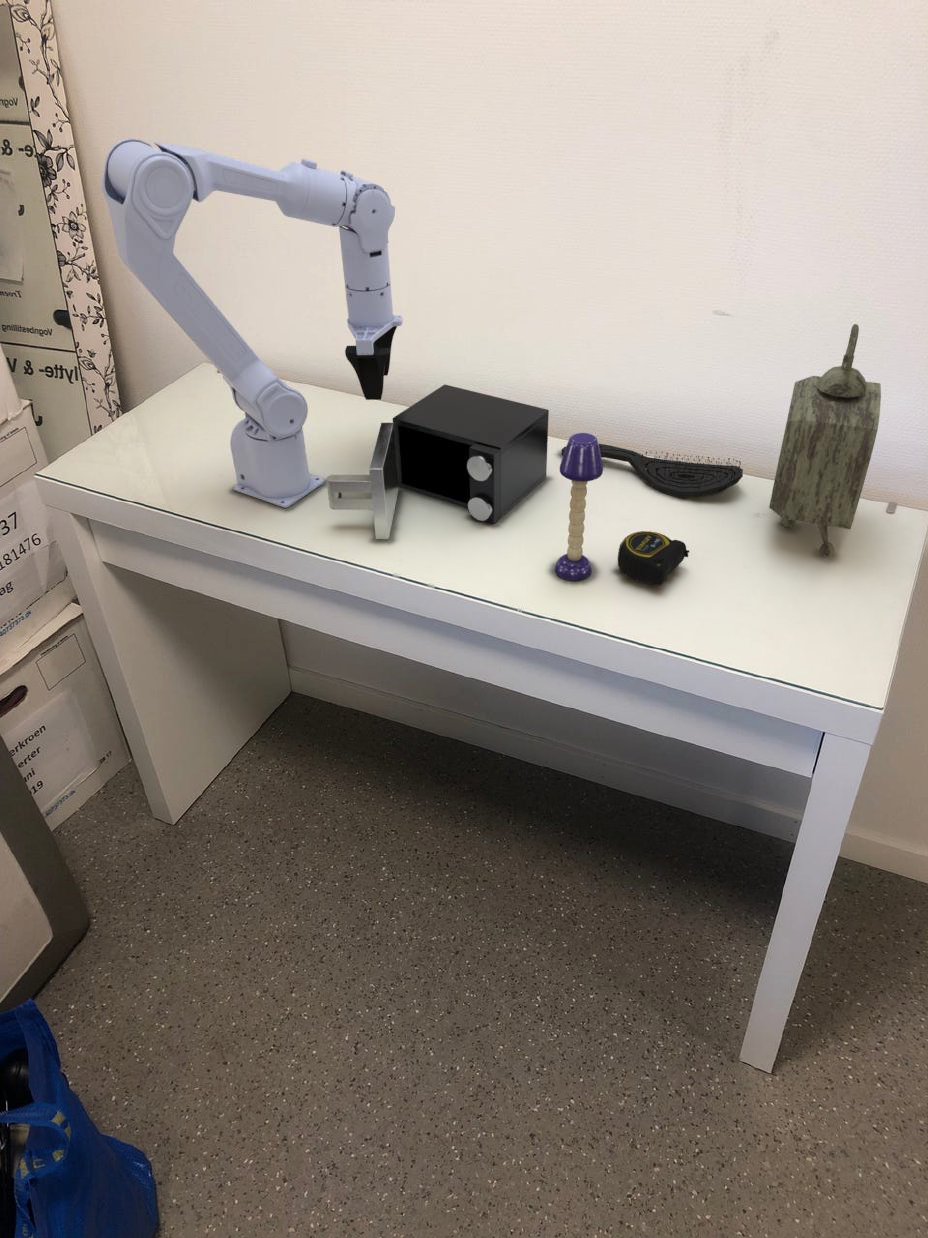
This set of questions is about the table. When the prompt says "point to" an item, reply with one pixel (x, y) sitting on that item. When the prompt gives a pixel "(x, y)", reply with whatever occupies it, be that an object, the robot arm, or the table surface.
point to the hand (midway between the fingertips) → (377, 386)
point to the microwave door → (371, 485)
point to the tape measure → (650, 556)
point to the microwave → (472, 450)
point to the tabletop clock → (827, 447)
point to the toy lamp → (578, 500)
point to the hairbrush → (677, 473)
